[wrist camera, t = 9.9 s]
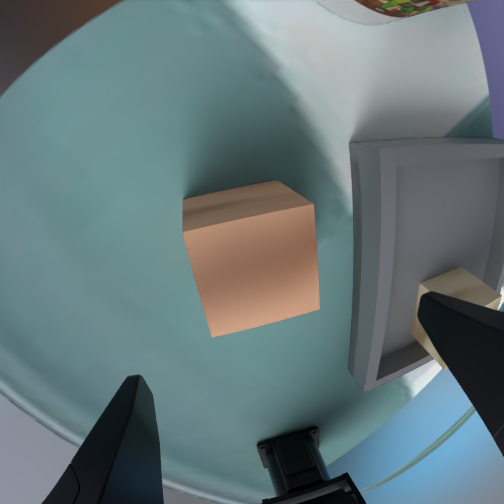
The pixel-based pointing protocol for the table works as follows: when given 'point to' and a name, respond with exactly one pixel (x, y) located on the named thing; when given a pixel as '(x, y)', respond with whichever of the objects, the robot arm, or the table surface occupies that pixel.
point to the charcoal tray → (417, 238)
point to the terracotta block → (252, 255)
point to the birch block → (455, 286)
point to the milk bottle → (383, 9)
